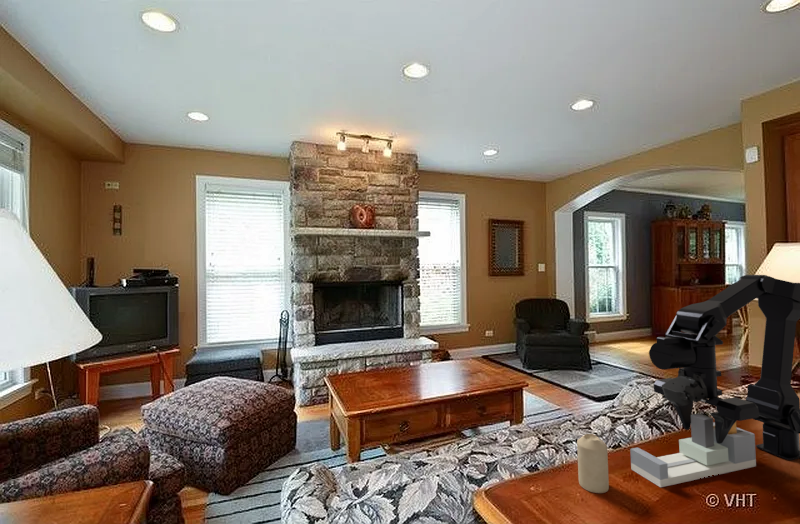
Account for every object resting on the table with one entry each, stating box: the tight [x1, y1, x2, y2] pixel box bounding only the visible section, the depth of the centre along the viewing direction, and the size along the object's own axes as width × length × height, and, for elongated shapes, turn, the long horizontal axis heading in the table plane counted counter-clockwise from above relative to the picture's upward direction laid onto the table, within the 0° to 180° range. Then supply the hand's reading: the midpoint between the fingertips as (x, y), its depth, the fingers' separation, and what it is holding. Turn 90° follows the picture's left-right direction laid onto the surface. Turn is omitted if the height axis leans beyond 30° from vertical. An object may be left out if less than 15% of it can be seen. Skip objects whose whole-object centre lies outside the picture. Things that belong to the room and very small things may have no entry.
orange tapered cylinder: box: [728, 421, 738, 434], centre depth 84 cm, size 3×3×6 cm
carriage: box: [678, 412, 729, 466], centre depth 82 cm, size 6×6×9 cm
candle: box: [576, 433, 610, 494], centre depth 76 cm, size 6×6×10 cm
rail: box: [629, 421, 757, 488], centre depth 81 cm, size 26×7×7 cm, turn 104°
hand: (702, 436), depth 82 cm, fingers open, 7 cm apart
